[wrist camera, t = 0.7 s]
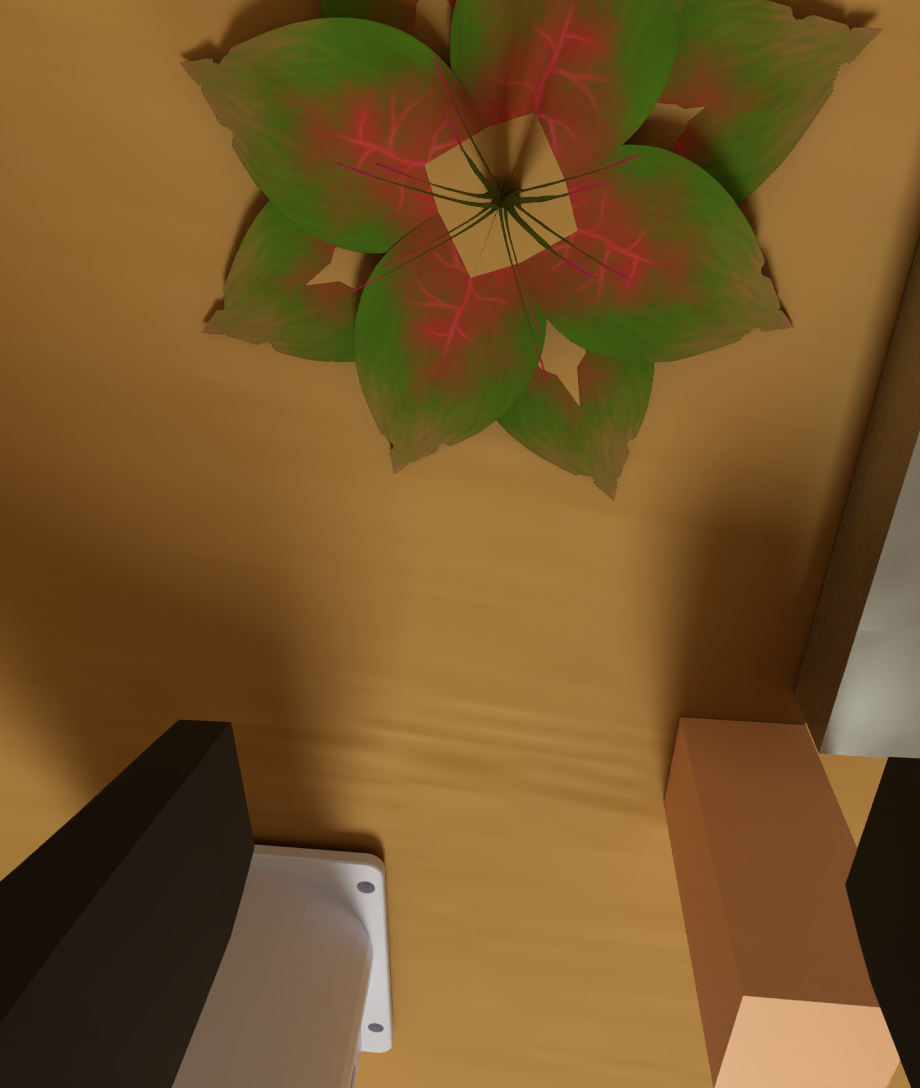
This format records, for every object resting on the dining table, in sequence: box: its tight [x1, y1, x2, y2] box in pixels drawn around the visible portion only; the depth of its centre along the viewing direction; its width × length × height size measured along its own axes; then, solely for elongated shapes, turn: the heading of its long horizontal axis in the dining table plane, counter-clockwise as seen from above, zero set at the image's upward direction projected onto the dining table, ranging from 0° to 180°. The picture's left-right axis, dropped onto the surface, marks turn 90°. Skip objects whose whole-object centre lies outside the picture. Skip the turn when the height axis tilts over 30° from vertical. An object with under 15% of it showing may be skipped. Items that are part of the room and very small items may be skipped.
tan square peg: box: [664, 717, 900, 1088], centre depth 17 cm, size 3×3×7 cm
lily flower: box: [180, 0, 883, 501], centre depth 13 cm, size 12×12×5 cm
